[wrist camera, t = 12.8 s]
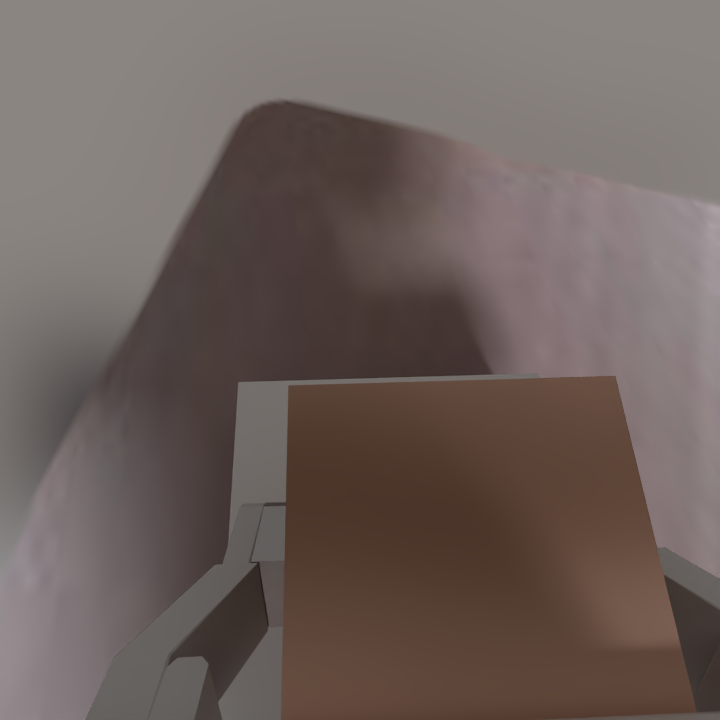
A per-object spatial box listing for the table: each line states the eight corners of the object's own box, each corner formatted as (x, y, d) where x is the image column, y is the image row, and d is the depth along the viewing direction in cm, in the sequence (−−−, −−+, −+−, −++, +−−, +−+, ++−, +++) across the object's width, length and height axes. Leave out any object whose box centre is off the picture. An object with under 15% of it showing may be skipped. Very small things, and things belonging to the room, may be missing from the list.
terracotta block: (491, 625, 14) (716, 790, 5) (326, 631, 13) (278, 812, 5) (471, 458, 15) (615, 376, 7) (324, 462, 15) (288, 385, 7)
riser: (551, 694, 18) (605, 741, 14) (245, 708, 17) (214, 759, 14) (506, 399, 22) (538, 373, 18) (258, 407, 21) (238, 381, 18)
